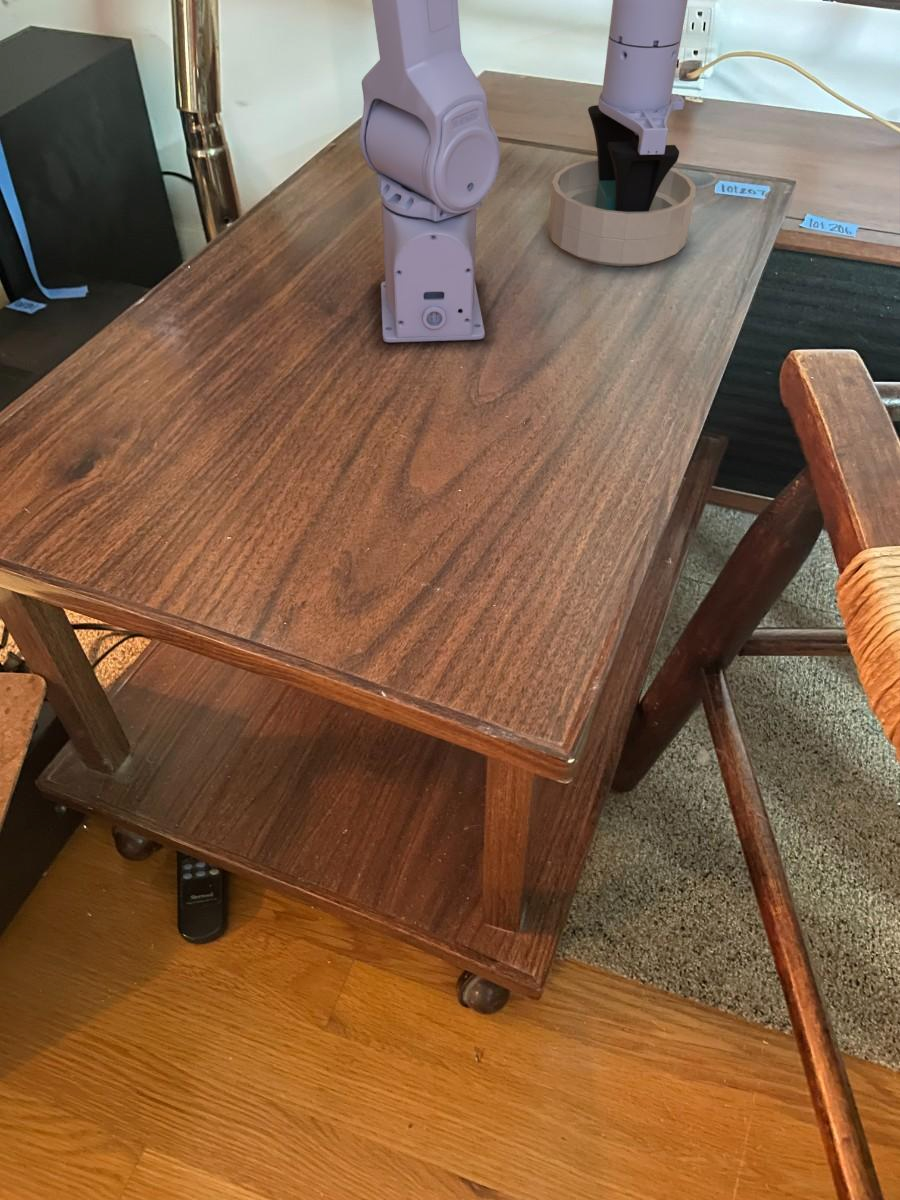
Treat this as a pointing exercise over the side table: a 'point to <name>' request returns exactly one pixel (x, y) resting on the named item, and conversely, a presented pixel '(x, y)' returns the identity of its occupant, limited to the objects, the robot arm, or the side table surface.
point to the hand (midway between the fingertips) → (620, 210)
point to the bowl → (618, 219)
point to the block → (606, 195)
